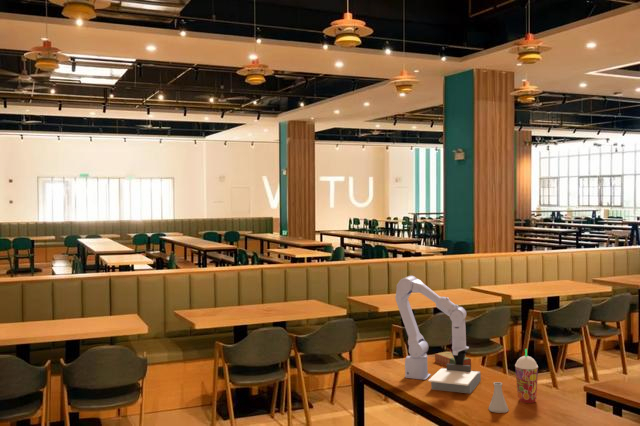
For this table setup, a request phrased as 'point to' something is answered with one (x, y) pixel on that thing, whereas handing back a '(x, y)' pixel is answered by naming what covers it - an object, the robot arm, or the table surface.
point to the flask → (498, 400)
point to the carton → (449, 359)
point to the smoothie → (526, 378)
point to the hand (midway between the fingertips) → (459, 368)
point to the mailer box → (457, 387)
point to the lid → (454, 375)
